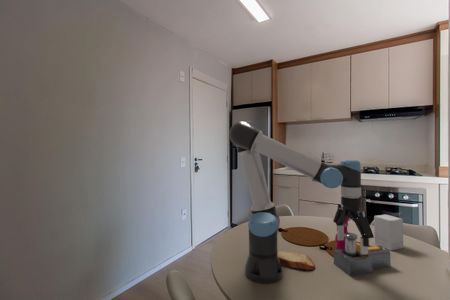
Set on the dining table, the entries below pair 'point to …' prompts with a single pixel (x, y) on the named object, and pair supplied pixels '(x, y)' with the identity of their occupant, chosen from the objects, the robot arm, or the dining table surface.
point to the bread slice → (296, 260)
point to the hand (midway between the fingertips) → (351, 246)
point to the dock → (362, 261)
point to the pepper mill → (341, 243)
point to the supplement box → (388, 232)
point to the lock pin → (368, 248)
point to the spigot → (350, 244)
